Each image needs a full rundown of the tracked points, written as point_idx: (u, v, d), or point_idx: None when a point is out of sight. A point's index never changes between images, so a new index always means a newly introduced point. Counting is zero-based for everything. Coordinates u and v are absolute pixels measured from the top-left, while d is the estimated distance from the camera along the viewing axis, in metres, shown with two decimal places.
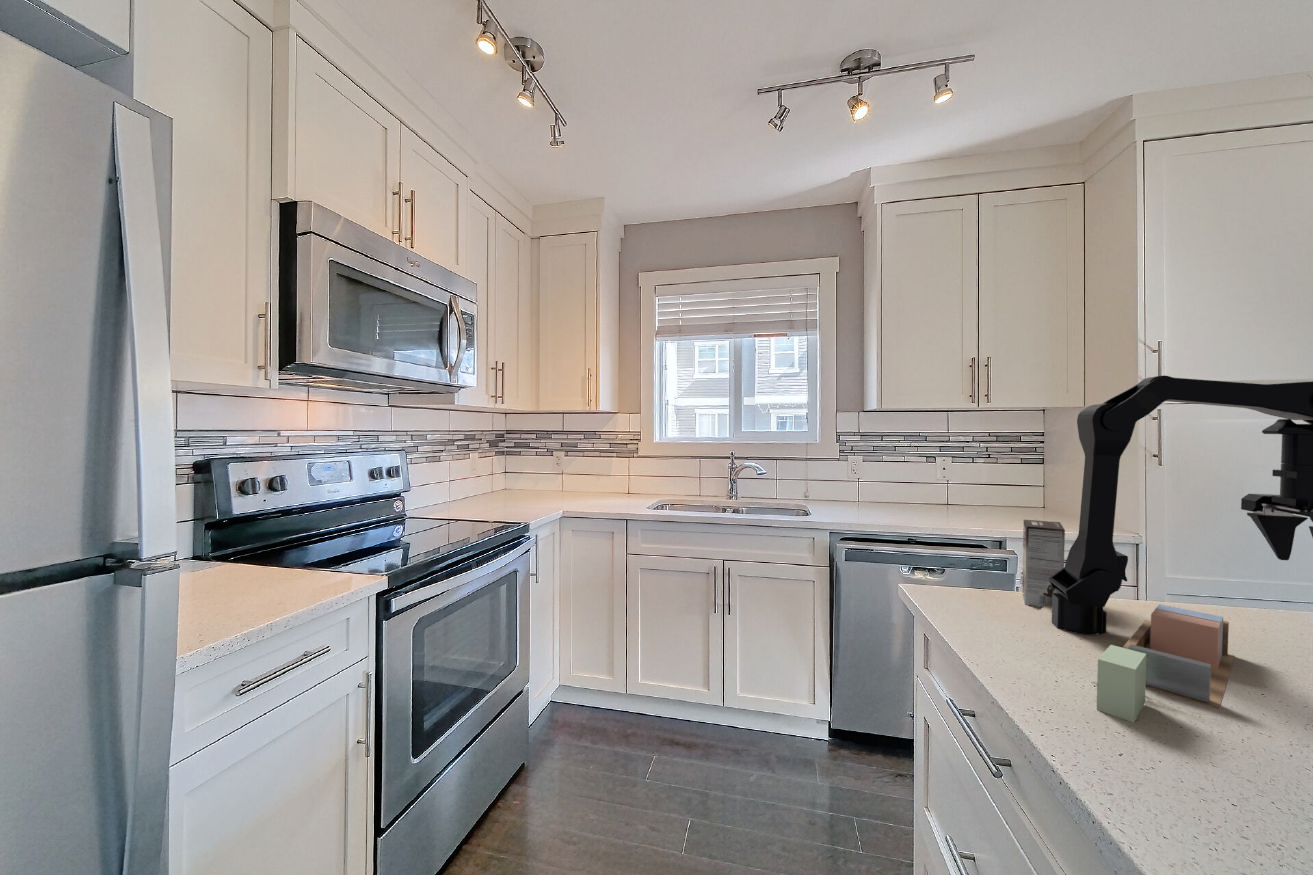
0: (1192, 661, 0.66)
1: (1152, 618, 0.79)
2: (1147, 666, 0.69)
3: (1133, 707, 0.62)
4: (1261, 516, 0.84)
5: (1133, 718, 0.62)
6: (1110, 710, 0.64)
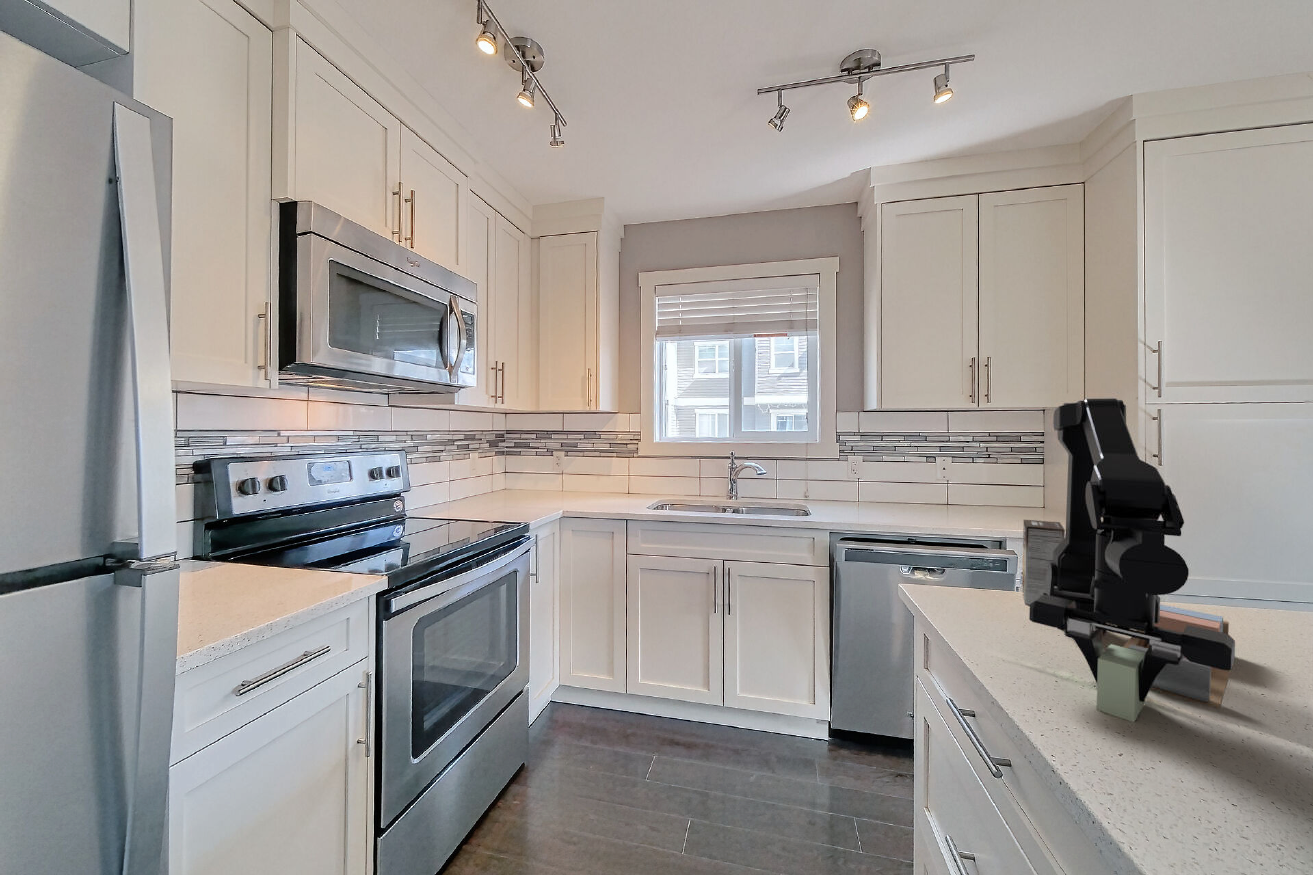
0: None
1: None
2: None
3: (1133, 706, 0.62)
4: (1093, 640, 0.66)
5: (1133, 717, 0.62)
6: (1110, 709, 0.64)
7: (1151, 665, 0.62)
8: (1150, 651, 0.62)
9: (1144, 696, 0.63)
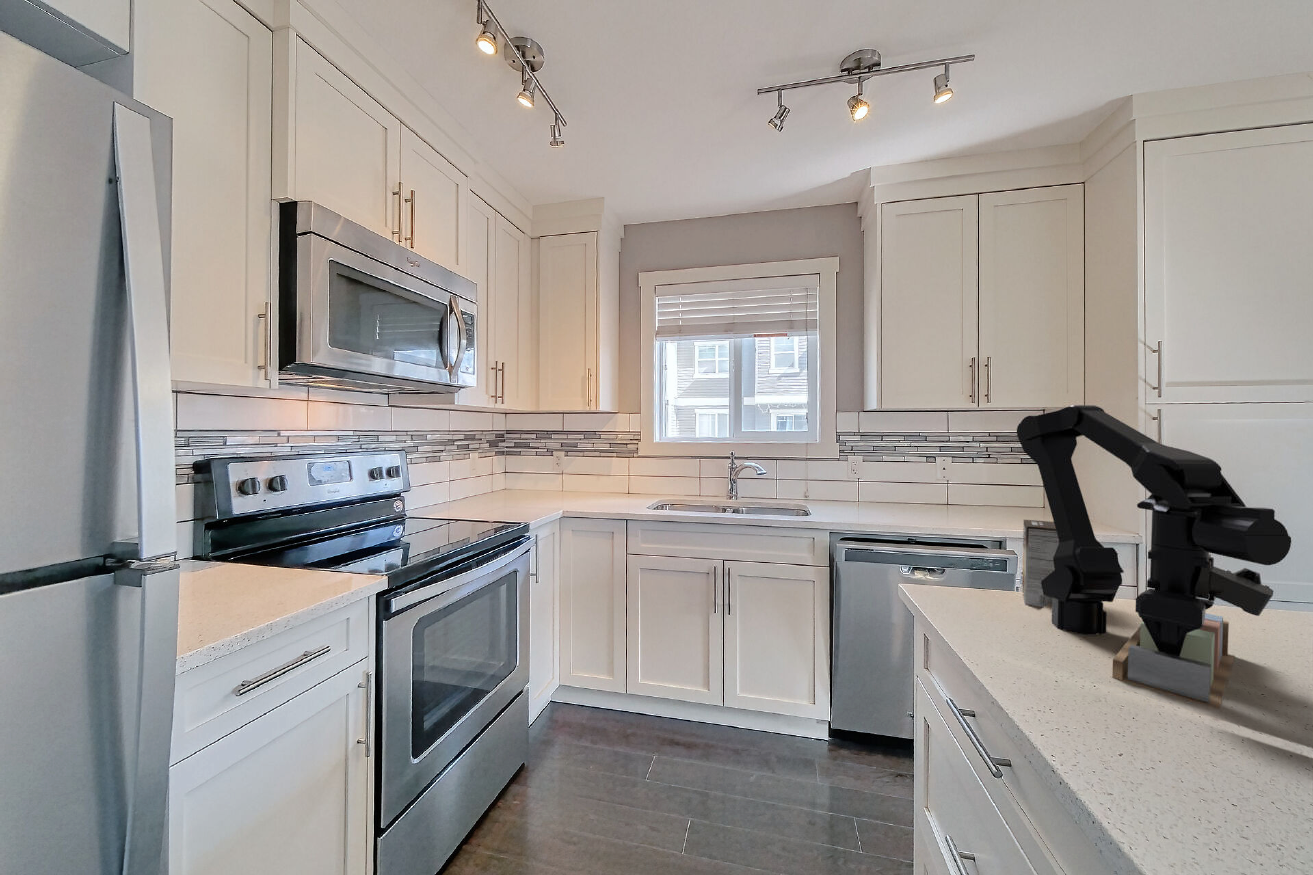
0: (1192, 661, 0.66)
1: None
2: (1147, 666, 0.69)
3: None
4: None
5: None
6: None
7: None
8: None
9: None
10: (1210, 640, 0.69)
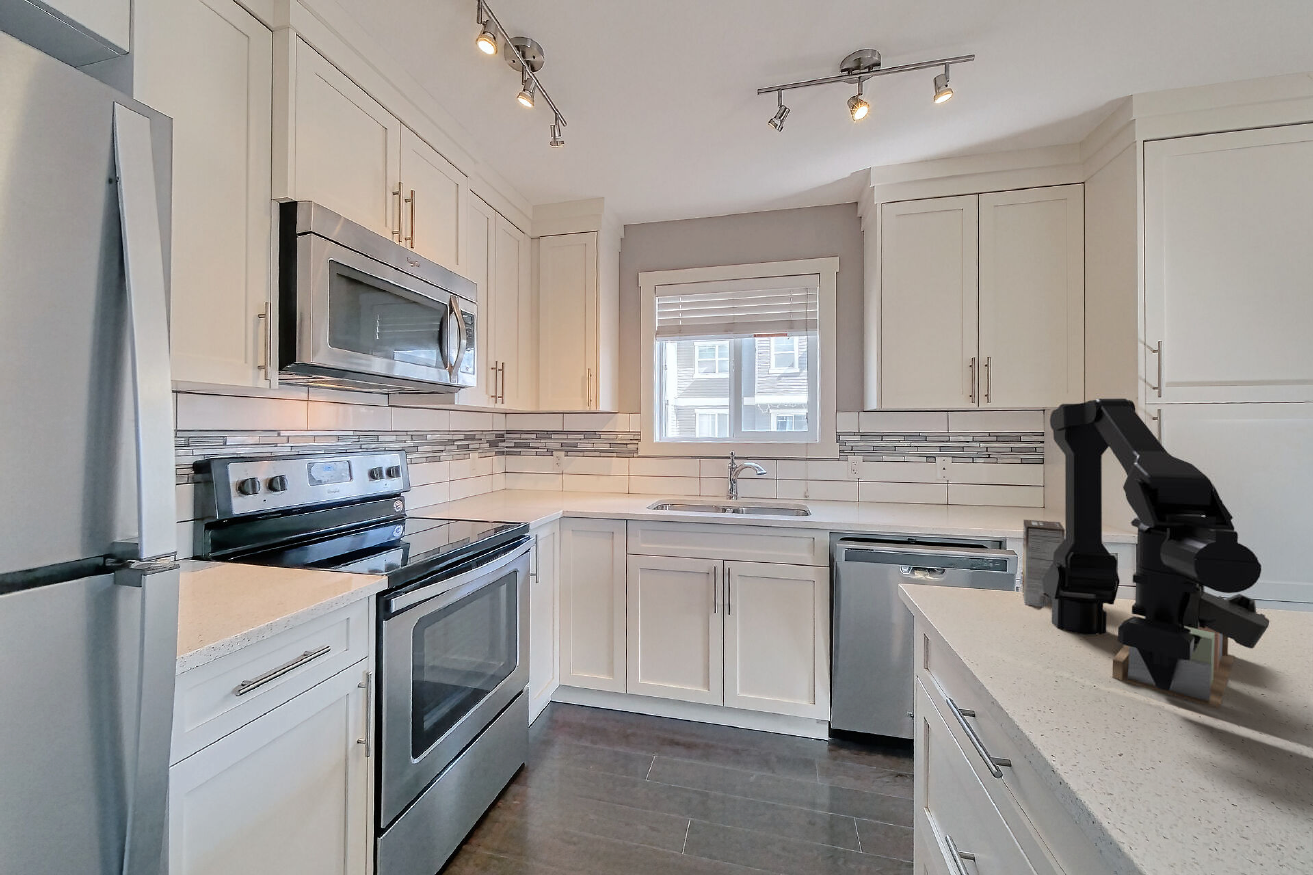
0: (1192, 660, 0.66)
1: None
2: None
3: None
4: None
5: None
6: None
7: None
8: None
9: (1153, 680, 0.67)
10: (1210, 640, 0.69)
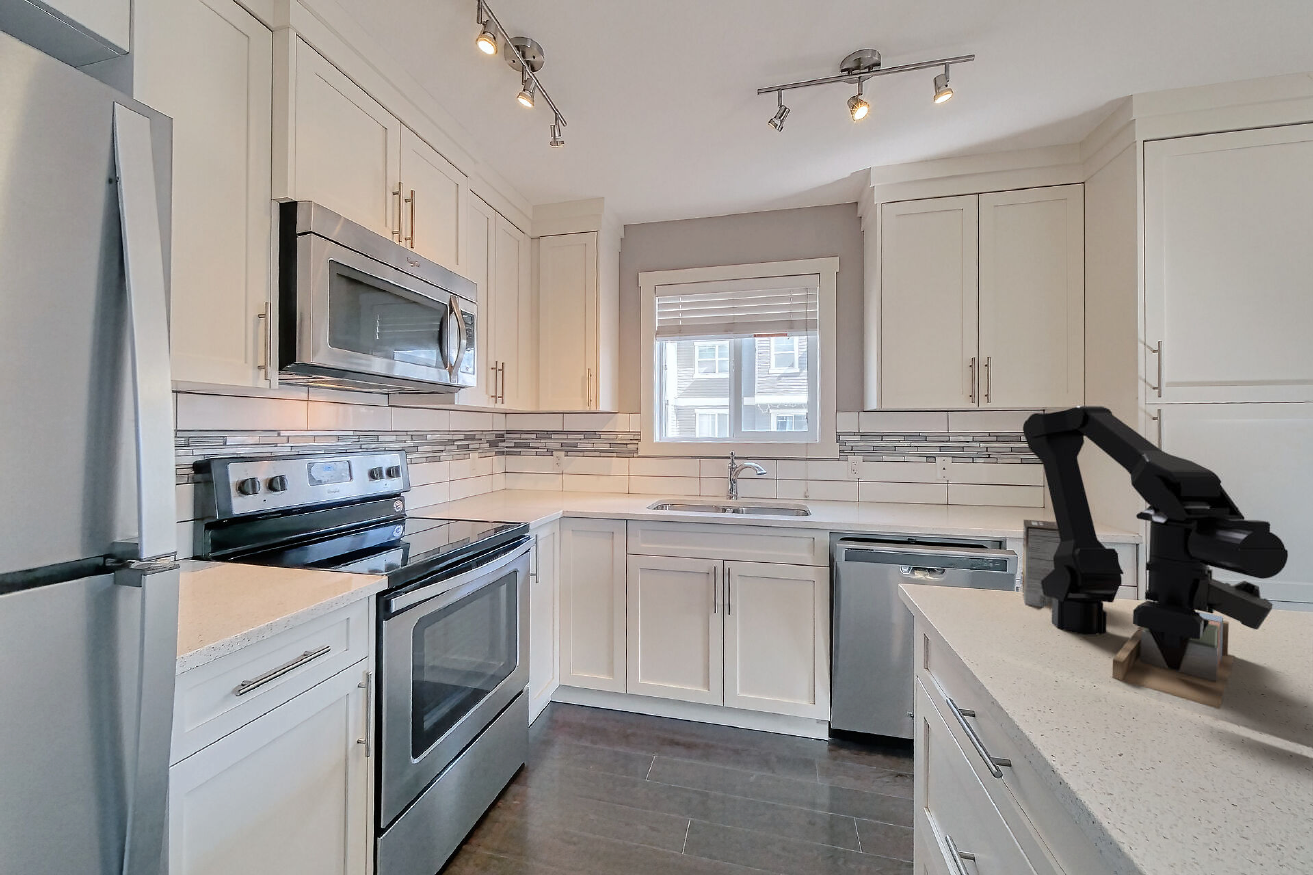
0: (1200, 643, 0.72)
1: None
2: (1158, 649, 0.74)
3: None
4: None
5: None
6: None
7: None
8: None
9: (1165, 661, 0.72)
10: (1213, 633, 0.71)
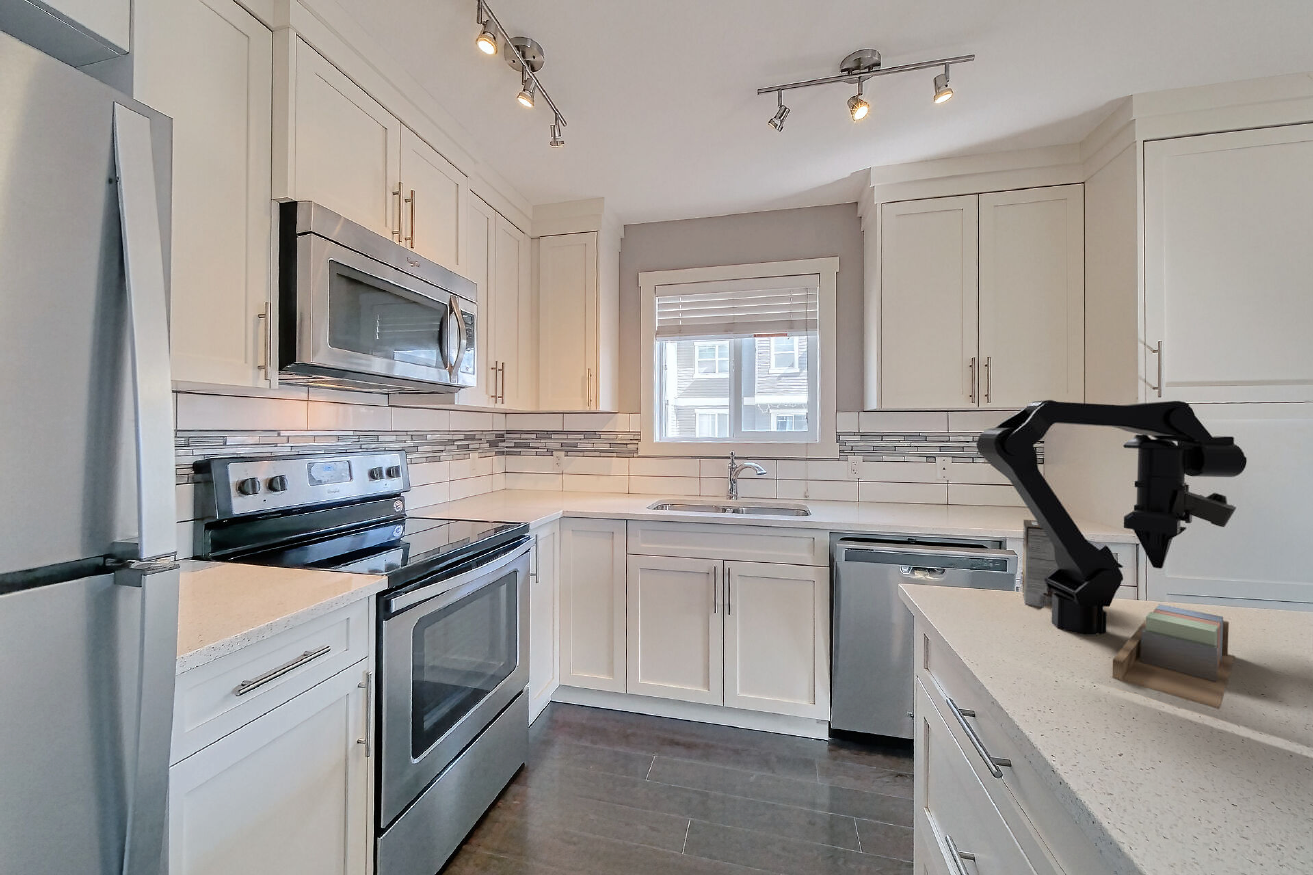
0: (1200, 643, 0.72)
1: None
2: (1158, 649, 0.74)
3: None
4: None
5: None
6: None
7: None
8: None
9: (1150, 561, 0.87)
10: (1213, 633, 0.71)
